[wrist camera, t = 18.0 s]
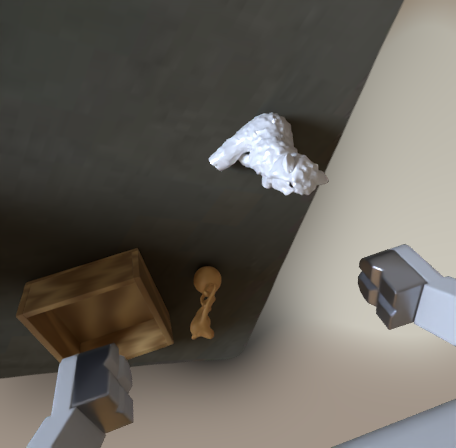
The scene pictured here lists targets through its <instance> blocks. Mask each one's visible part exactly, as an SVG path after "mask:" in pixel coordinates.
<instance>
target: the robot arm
mask: <svg viewBox="0 0 456 448" xmlns="http://www.w3.org/2000/svg"><path fill="white" fill-rule="evenodd" d="M359 267H360V269H361V270H362V272H361V273H360V275H359V276H358V285H359V288H360V291H361V293H362V295H363V297H364V298H365V299H366V301H367V302H368V303H369V304H371V305H374V306H376V307H377V308H376V314H377V315H378V316H379V318H380V319H381V320H382V321H383V323H384V324H385V325H386V327H387V328H388V329H389V330H391V329H394V328H396V327H399V326H403V325H406V324H409V323H412V322H414V324H416V325H418V326H420V327H421V328H423V329H425V330H427V331H429V332H430V333H432V334H434V335H436V336H438V337H440V338H441V339H443V340H445V341H447V342H449V343H450V344H452V345H454V346H456V279H455V278H452V277H449V276H447V277H443V276H442V275H441V274H440V273H438V272H437V271H436V270H435V269H434V268H433V267H432V266H431V265H430V264H429V263H427V262H426V261H425V260H424V259H423V258H422V257H420V255H418V254H417V253H416V252H415V251H414V250H413V249H412V248H411V247H409V246H408V245H406V244H403V245H400V246H398V247H395V248H392V249H387V250H385V251H382V252H379V253H376V254H373V255H370V256H368V257H365V258H362V259H361V260H360V263H359ZM131 387H132V375H131V370H130V366H129V364H128V361H127V360H126V358H125V357H124V356H122V355H119V348H118V347H117V346H116V344H115V343H111V344H108V345H105V346H102V347H98V348H95V349H92V350H89V351H85V352H82V353H79V354H76V355H73V356H70V357H67V358H64V359H62V361H61V363H60V365H59V370H58V376H57V382H56V389H55V395H54V402H53V408H52V414H51V416H49V417H46V418H45V420H44V421H43V423H42V424H41V426H40V427H39V429H38V430H37V432H36V433H35V435H34V436H33V438H32V439H31V441H30V442H29V444H28V445H27V447H26V448H100V447H101V445H102V443H103V441H104V438H105V436H106V435H105V433H108V432H110V431H113V430H116V429H118V428H121V427H123V426H126V425H128V424H131V423H133V400H132V398H131V397H130V396H129V395H128V393H129V391H130V389H131ZM331 448H456V399H454V400H451V401H449V402H446V403H444V404H441V405H439V406H436V407H434V408H431V409H429V410H426V411H423V412H421V413H418V414H416V415H413V416H411V417H408V418H406V419H403V420H401V421H398V422H395V423H393V424H390V425H388V426H385V427H383V428H380V429H377V430H375V431H372V432H370V433H367V434H365V435H362V436H360V437H357V438H355V439H352V440H350V441H347V442H344V443H342V444H339V445H337V446H334V447H331Z"/></svg>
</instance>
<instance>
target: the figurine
mask: <svg viewBox="0 0 456 448" xmlns="http://www.w3.org/2000/svg"><path fill="white" fill-rule="evenodd" d="M194 285H195V288H196V289H197V290H198V291H199V292H201V293H203V294H202V296H201V298H200V300H201V301H200V303H201V304H202V307H201V308H200V309H199V310H198V311H197V313H196V316H195V317H194V319H193V320H192V322H191V325H190V330H191V333H192V334H193V335H192V337H191V338H192V339H193V340H194V339H196V338H197V337H199V336H202V337H205V338H208V339H212V338H213V337H214V331H213V330H212V329H211V328H210V323H211V322H210V318H209V317H208V315H207V314H208V313H209V311H211V306H212V304H213V303H214V302H215V297H214V295H215V292H216V291H218V289H219V287H220V285H221V275H220V273H219V272H218V270H217V269H215V268H214V267H211V266H204V267H202V268H200V269H198V270H197V272H196V273H195V275H194ZM205 296H206V297H209V298H207V299H206V300H203V299H204V297H205Z"/></svg>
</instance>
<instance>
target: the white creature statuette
mask: <svg viewBox="0 0 456 448" xmlns="http://www.w3.org/2000/svg"><path fill="white" fill-rule="evenodd" d="M292 137H293V134H292V132H291V124H289V123H288V122H287V121H286V119H285V117H281V116H279V115H278V114H277V113H272V112H271V113H270V114H266V113H264V114H261V115H259V116H256V117H255V118H254V119H252V120H251V121H249V122H248V123H247V124H246V125H244V127H242V128H241V129H240V131H238V132H237V133H236V134H235V135H234V136H233V137H231V138H230V139H227V140H226V142H225V143H223V145H222V146H221V147H220V148H218V149H217V151H216V152H214V153H213V154H212V155H211V157H210V158H209V161H210V163H211V164H212V165H213V166H215V167H216V168H217V169H218V170H219V171H223V170H225V169H226V168H229V167H230V166H231V165H233V164H234V163H235V162H236V161H237V160H239V161H240V162H241V164H242V165H245V167H251V168H252V169H254V170H255V171H256V173H257V174H261V175H262V185H263V187H265V188H271V187H272V188H274V189H276V190H279V191H281V192H283V193H284V195H289V194H291V193H292V192H296V193H299V194H301V195H303V194H306V195H310V193H311V192H312V191H314V190H315V188H316V185H322V184H326V183H328V182H329V180H328V178H327V177H326V175H325V173H324V172H323V171H320V170H318V164H315V163H313V162H311V161H310V160H309V159H308V157H307V156H306V155H301V154H299V153H297V149H296V148H295V147H294V146H293V145H294V143H293V138H292ZM249 152H250V153H249Z"/></svg>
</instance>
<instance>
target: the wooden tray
mask: <svg viewBox="0 0 456 448" xmlns="http://www.w3.org/2000/svg"><path fill="white" fill-rule="evenodd" d="M16 317H17V318H18V319H19V320H20V321H21V322H22V323H23V324H24V325H25V326H26V328H27V329H28V330H29V331H30V332H31V333H32V334H33V335H34V336H35V337H36V338H37V339H38V340H39V341H40V342H41V343H42V344H43V345H44V346H45V347H46V349H47V350H48V351H49V352H50V353H51V354H52V355H53V356H54V357H55V358H56V359H57V360H58V361H59V362H60V363H61V361H62V359H64V358H67V357H70V356H73V355H76V354H79V353H82V352H85V351H89V350H92V349H95V348H98V347H102V346H105V345H108V344H111V343H115V344H116V346H117V347H118V348H119V355H122V356H124V357H125V358H126V360H128V359H131V358H134V357H137V356H139V355H142V354H145V353H148V352H151V351H154V350H157V349H160V348H163V347H166V346H168V345H171V344H174V341H173V335H172V328H171V321H170V315H169V312H168V310H167V308H166V306H165V304H164V302H163V300H162V298H161V296H160V294H159V292H158V289H157V287H156V285H155V283H154V281H153V279H152V277H151V275H150V273H149V271H148V268H147V266H146V264H145V262H144V260H143V258H142V256H141V254H140V252H139V250H138V248H135V249H132V250H129V251H125V252H122V253H119V254H116V255H113V256H109V257H106V258H103V259H100V260H97V261H93V262H90V263H87V264H84V265H81V266H77V267H74V268H71V269H68V270H65V271H61V272H58V273H55V274H52V275H49V276H45V277H42V278H39V279H36V280H33V281H29V282H26V284H25V287H24V291H23V294H22V297H21V301H20V304H19V307H18V310H17V314H16Z"/></svg>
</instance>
